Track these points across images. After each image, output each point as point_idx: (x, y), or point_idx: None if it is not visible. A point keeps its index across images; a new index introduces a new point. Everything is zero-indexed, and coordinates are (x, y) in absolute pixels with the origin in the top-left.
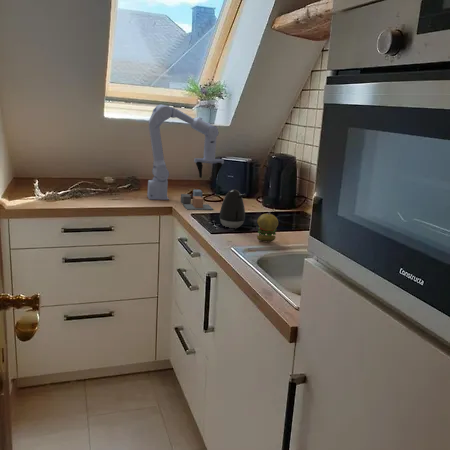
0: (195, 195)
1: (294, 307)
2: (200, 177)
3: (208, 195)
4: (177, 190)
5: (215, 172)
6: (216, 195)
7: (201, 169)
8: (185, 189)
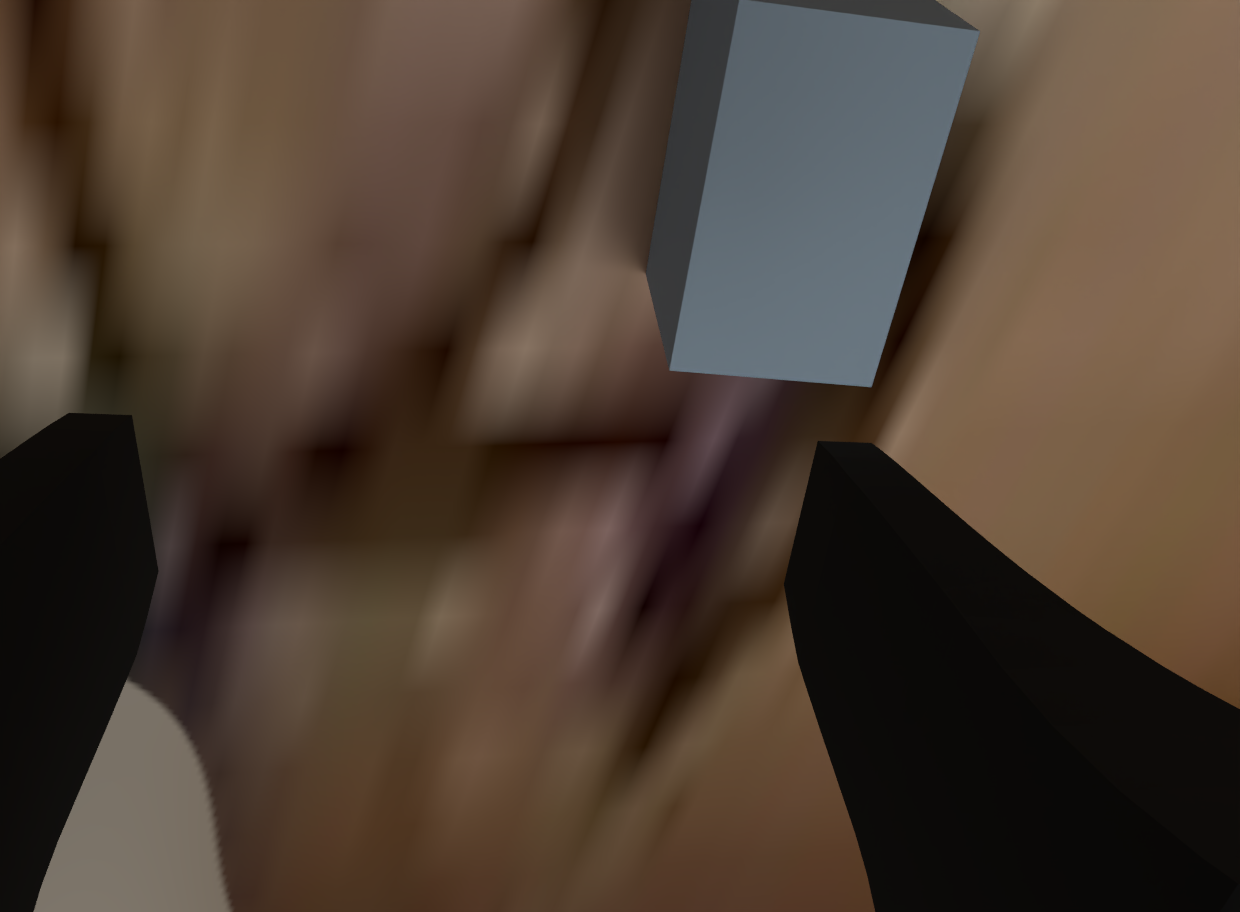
0: (928, 1)
1: None
2: (873, 445)
3: (367, 455)
4: None
5: (43, 684)
6: (159, 462)
7: (1046, 668)
8: (701, 866)
